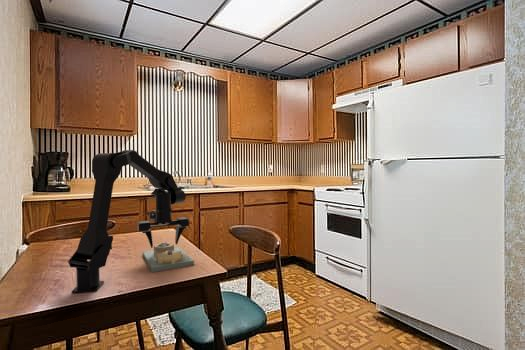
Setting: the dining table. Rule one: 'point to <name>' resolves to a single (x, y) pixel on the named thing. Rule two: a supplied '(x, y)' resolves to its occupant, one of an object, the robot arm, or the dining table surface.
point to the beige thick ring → (163, 248)
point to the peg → (163, 244)
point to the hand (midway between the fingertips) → (164, 245)
